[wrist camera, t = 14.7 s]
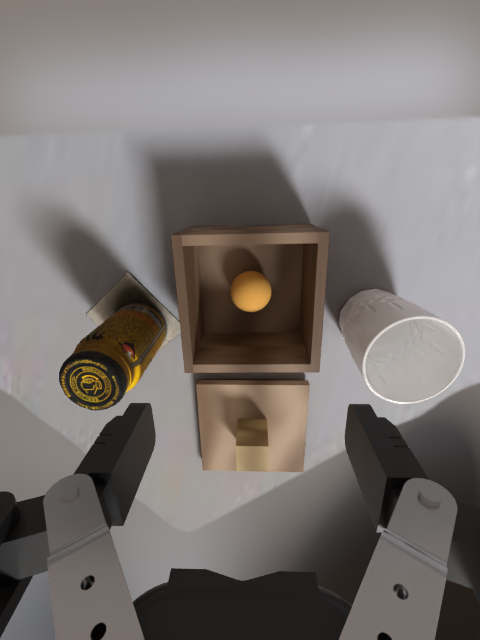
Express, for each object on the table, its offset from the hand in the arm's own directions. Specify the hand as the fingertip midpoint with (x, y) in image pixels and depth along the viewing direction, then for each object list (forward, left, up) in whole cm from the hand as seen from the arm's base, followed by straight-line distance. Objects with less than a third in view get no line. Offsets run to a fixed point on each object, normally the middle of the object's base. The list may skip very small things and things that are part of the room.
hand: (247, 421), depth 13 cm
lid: (0, -18, -22) cm, 28 cm away
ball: (0, 0, -21) cm, 21 cm away
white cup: (+13, -4, -22) cm, 26 cm away
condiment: (-13, -4, -22) cm, 26 cm away
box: (0, 0, -22) cm, 22 cm away
